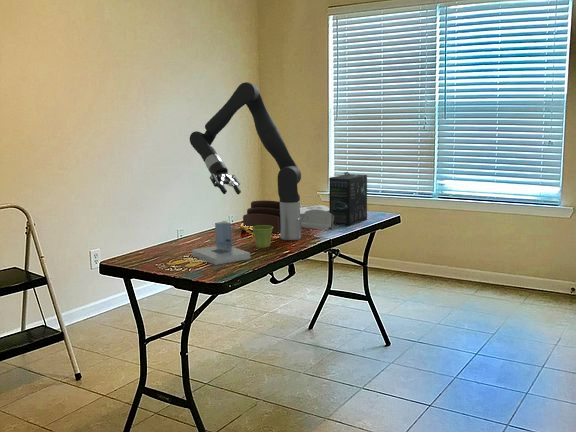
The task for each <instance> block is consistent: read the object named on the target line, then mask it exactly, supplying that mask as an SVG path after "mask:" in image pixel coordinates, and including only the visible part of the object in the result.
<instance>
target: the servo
mask: <svg viewBox="0 0 576 432" xmlns="http://www.w3.org/2000/svg"><path fill="white" fill-rule="evenodd" d="M214 227H215V240H214V243H215V246H219V245H229V246H232V247H233V244H234V241H233V238H232V223H231V222H228V220H222V221H221V222H215V225H214Z"/></svg>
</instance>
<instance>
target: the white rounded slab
mask: <svg viewBox="0 0 576 432" xmlns="http://www.w3.org/2000/svg"><path fill="white" fill-rule="evenodd" d="M309 210H324V211H327V212H329V206H326V205H323V204H322V205H313V206H300V217H301V223H302V221H303V217H304V214H305V212H306V211H309Z"/></svg>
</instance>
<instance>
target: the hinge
mask: <svg viewBox="0 0 576 432" xmlns="http://www.w3.org/2000/svg"><path fill="white" fill-rule="evenodd" d="M333 219H334V216H333V214H331V213H329V212H327V211H324V210H309V211H306V212H305V214H304V217H303V221H302V222H301V228H306V229H316V230H322V231H323V230H325V231H328V230H330V229H334V224H333Z"/></svg>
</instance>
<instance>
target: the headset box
mask: <svg viewBox="0 0 576 432" xmlns="http://www.w3.org/2000/svg"><path fill="white" fill-rule="evenodd" d="M328 180H329V181H328V183H329V184H328V185H329V188H328V190H329V194H328V195H329V199H328V200H329V206H328V207H329V213H331V214H333V216H334V219H333V225H336V226H347V227H349V226H351V225H354V224H357V223H360V222H363V221H366V220H368V175H367V174H351V173H349V172H348V171H346V172H343V174H341V175H335V176H330V177H329V178H328Z"/></svg>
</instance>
